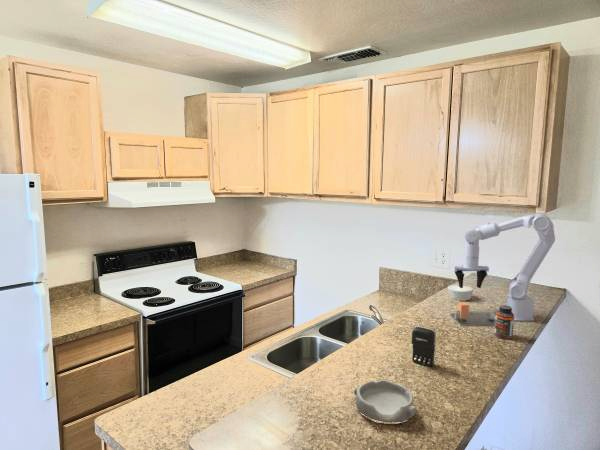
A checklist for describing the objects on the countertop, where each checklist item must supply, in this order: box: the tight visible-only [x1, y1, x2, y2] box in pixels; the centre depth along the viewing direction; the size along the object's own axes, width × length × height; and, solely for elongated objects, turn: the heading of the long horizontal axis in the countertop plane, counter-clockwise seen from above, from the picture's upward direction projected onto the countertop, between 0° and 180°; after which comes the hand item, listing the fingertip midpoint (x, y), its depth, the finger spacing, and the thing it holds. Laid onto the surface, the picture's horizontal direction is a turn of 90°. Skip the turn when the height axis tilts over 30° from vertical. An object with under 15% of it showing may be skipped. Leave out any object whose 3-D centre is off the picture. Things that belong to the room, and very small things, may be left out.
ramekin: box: [447, 284, 474, 302], centre depth 183 cm, size 11×11×5 cm
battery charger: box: [411, 325, 437, 367], centre depth 120 cm, size 7×4×11 cm, turn 55°
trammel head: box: [456, 301, 470, 320], centre depth 155 cm, size 3×4×6 cm
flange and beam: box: [449, 310, 496, 327], centre depth 155 cm, size 16×12×4 cm
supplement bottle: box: [494, 304, 515, 340], centre depth 139 cm, size 6×6×11 cm
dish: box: [353, 379, 417, 422], centre depth 97 cm, size 14×14×5 cm
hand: (469, 287), depth 165 cm, fingers open, 7 cm apart
